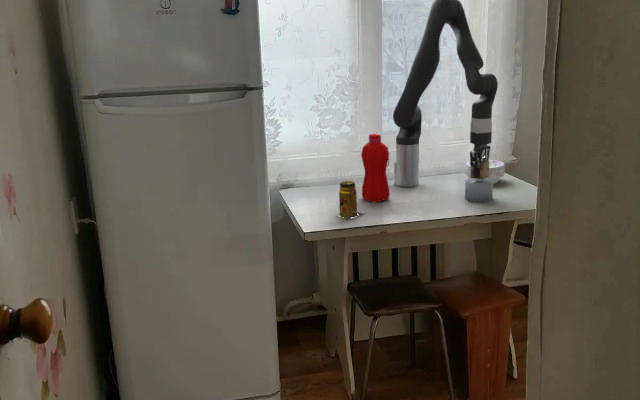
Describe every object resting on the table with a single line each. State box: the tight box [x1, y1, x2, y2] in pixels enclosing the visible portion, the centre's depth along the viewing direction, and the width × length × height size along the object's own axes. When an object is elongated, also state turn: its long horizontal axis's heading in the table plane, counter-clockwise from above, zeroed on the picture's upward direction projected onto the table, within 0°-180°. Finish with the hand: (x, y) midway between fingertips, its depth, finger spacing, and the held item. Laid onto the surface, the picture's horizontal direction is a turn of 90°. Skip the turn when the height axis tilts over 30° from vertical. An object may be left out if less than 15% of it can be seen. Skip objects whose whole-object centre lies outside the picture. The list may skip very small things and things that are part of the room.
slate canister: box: [464, 177, 494, 204], centre depth 224 cm, size 10×10×7 cm
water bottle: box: [360, 133, 390, 203], centre depth 227 cm, size 9×11×25 cm
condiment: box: [338, 180, 366, 219], centre depth 211 cm, size 7×8×12 cm
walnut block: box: [471, 160, 489, 180], centre depth 222 cm, size 5×5×6 cm
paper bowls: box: [465, 159, 506, 185], centre depth 247 cm, size 15×15×8 cm
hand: (479, 175), depth 223 cm, fingers closed on walnut block, 5 cm apart
